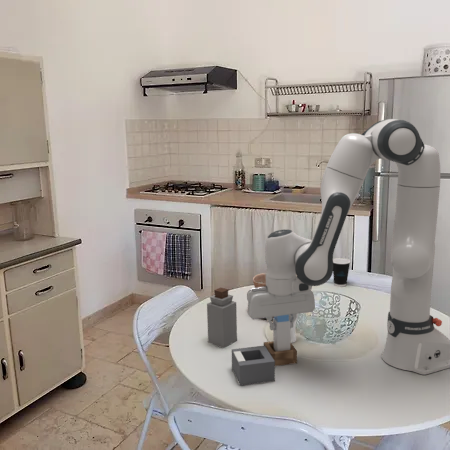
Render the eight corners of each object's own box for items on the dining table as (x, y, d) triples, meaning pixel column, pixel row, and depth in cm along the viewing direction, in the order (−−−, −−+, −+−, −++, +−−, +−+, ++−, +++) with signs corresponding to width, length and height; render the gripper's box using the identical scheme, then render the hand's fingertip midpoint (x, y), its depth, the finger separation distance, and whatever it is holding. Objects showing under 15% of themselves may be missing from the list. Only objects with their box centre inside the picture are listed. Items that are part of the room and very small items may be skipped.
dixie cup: (340, 280, 220) (341, 257, 217) (353, 285, 213) (354, 261, 210) (327, 284, 216) (327, 259, 214) (339, 289, 209) (340, 264, 207)
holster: (288, 351, 155) (288, 339, 154) (297, 363, 147) (297, 350, 147) (263, 354, 153) (263, 342, 153) (271, 366, 146) (271, 354, 145)
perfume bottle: (236, 340, 163) (236, 289, 159) (223, 348, 158) (222, 294, 154) (221, 335, 167) (220, 284, 164) (208, 342, 162) (206, 290, 158)
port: (264, 364, 147) (264, 344, 146) (274, 380, 138) (274, 360, 137) (231, 368, 145) (231, 348, 144) (240, 385, 136) (239, 365, 134)
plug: (286, 346, 152) (285, 309, 150) (290, 352, 148) (290, 314, 146) (273, 348, 151) (272, 311, 149) (277, 354, 147) (277, 316, 145)
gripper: (249, 291, 140) (251, 337, 143) (317, 284, 144) (317, 328, 147) (244, 285, 146) (245, 328, 149) (309, 277, 150) (309, 320, 153)
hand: (281, 328), depth 148 cm, fingers closed on plug, 4 cm apart
